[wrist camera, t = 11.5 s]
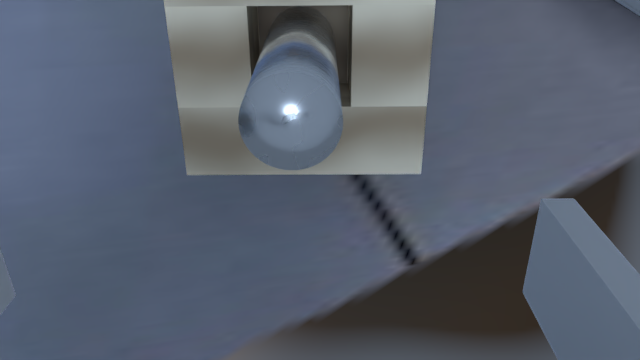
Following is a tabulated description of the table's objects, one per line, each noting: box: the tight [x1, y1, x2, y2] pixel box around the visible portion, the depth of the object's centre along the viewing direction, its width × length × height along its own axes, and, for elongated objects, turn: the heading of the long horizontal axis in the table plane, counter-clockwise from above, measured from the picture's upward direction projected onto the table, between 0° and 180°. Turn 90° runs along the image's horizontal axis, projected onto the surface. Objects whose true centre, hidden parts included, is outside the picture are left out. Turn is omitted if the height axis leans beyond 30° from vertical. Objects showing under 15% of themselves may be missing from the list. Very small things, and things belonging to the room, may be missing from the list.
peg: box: [238, 6, 343, 170], centre depth 27 cm, size 4×4×14 cm
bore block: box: [164, 0, 436, 175], centre depth 32 cm, size 14×14×6 cm
